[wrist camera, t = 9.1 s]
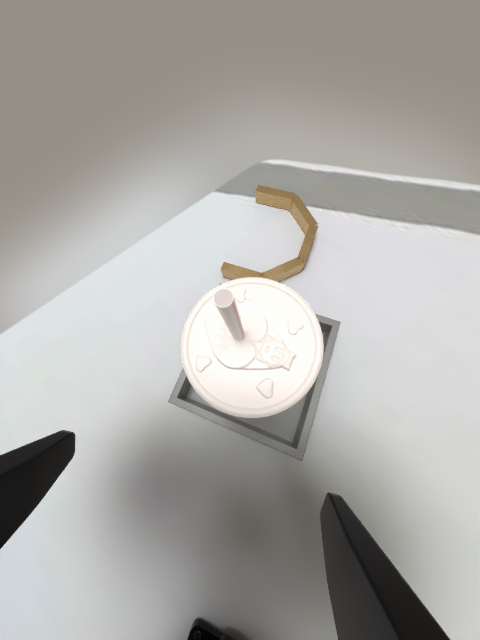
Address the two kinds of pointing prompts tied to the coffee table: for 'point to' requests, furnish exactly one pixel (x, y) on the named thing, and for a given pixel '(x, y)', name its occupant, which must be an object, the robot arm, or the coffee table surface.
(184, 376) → the tray
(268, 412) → the smoothie
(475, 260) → the coffee table surface
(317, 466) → the coffee table surface
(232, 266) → the collar
